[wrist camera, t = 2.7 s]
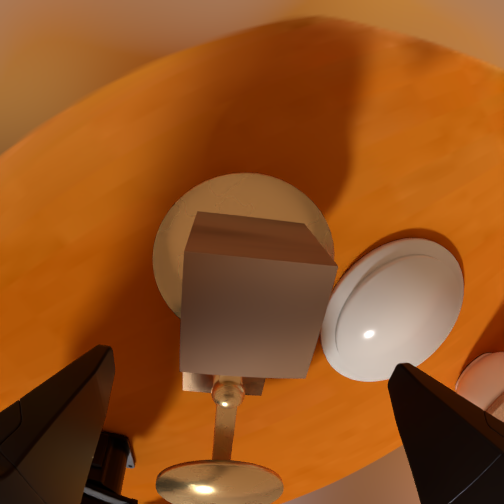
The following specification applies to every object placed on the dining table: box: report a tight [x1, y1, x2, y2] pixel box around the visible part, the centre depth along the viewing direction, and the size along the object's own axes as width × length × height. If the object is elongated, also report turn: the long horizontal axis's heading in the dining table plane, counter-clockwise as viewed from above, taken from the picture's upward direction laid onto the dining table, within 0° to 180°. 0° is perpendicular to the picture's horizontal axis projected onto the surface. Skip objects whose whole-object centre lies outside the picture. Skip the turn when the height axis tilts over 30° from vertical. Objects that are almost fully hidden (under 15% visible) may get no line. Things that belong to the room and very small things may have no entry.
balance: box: [153, 172, 334, 504], centre depth 19 cm, size 25×9×8 cm, turn 172°
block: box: [180, 211, 338, 378], centre depth 13 cm, size 5×5×5 cm
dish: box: [320, 238, 464, 382], centre depth 23 cm, size 13×13×1 cm
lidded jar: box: [455, 352, 504, 422], centre depth 23 cm, size 11×11×9 cm
